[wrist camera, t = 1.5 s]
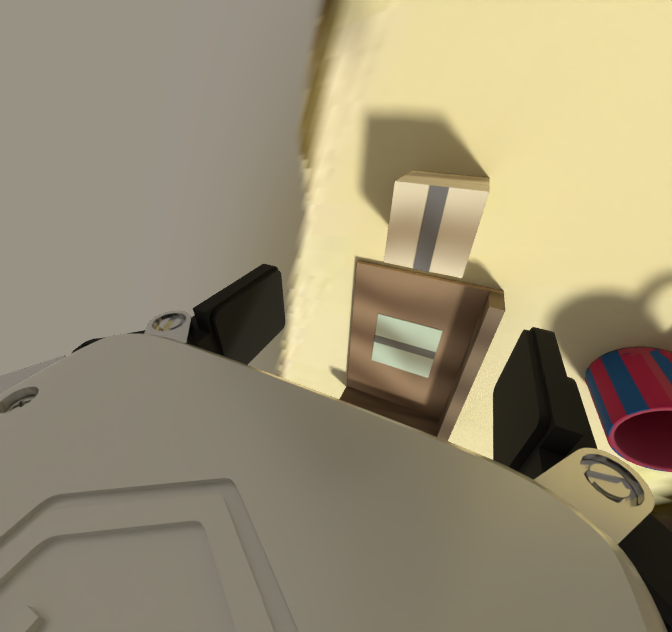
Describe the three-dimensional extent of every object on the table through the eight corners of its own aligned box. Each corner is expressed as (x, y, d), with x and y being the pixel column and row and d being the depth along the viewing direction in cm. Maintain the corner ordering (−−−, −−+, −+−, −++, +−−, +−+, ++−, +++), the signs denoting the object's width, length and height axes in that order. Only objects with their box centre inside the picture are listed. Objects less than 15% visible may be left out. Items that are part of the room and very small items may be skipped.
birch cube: (412, 170, 24) (394, 181, 20) (489, 177, 23) (489, 192, 18) (401, 239, 28) (383, 262, 23) (466, 250, 26) (461, 278, 21)
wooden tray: (359, 260, 31) (346, 274, 28) (503, 290, 26) (505, 310, 24) (347, 388, 42) (337, 407, 39) (447, 424, 38) (444, 448, 35)
